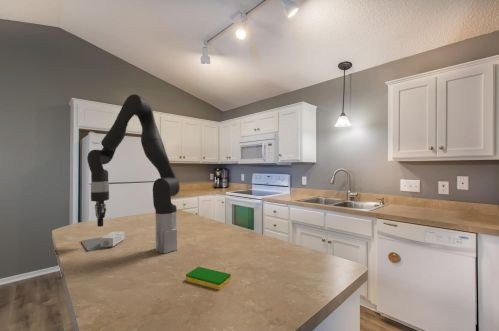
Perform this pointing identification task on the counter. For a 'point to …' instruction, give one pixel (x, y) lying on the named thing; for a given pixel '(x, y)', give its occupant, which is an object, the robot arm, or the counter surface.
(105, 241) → the skincare box
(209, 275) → the dish sponge
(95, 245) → the mat
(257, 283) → the counter surface
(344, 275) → the counter surface
